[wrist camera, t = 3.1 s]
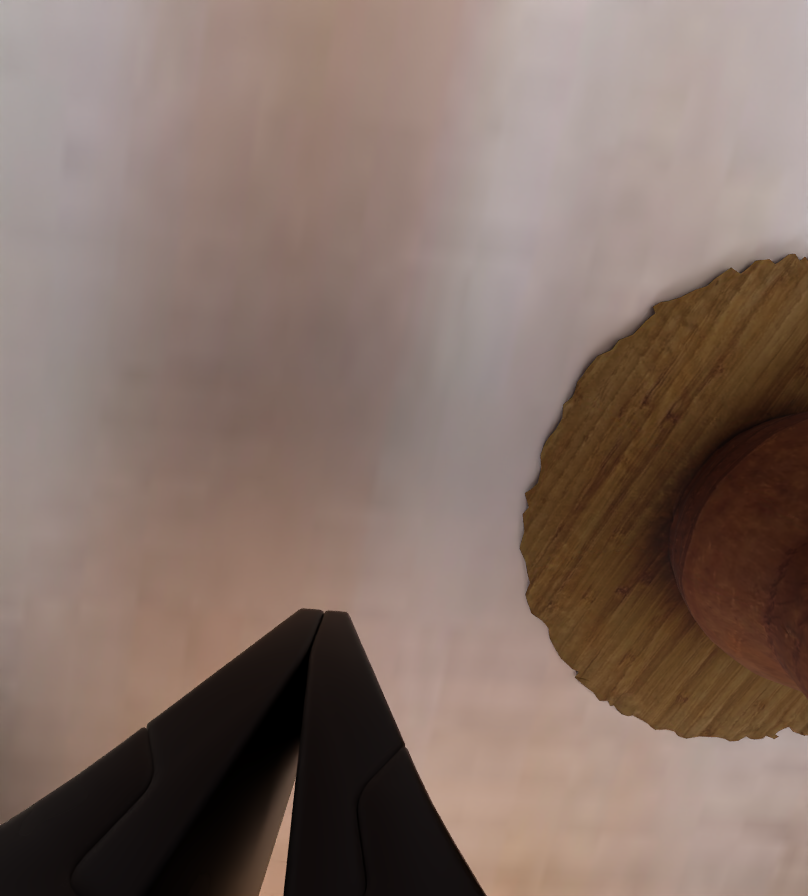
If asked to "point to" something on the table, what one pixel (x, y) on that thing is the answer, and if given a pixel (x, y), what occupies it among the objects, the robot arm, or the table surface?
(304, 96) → the table surface
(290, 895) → the robot arm
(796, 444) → the ceramic pot
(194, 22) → the table surface
